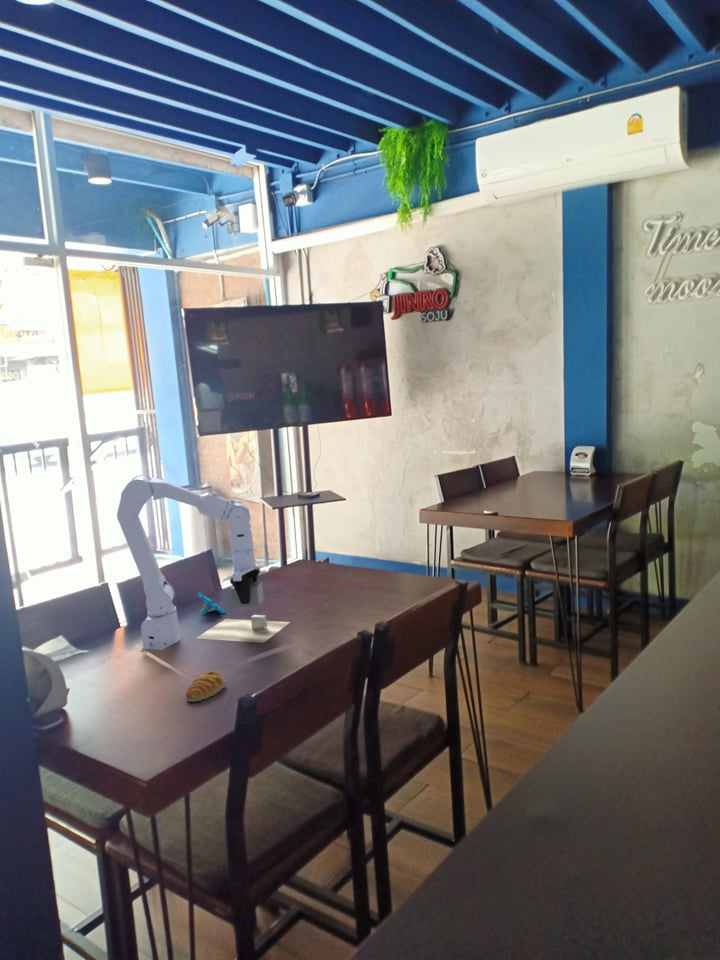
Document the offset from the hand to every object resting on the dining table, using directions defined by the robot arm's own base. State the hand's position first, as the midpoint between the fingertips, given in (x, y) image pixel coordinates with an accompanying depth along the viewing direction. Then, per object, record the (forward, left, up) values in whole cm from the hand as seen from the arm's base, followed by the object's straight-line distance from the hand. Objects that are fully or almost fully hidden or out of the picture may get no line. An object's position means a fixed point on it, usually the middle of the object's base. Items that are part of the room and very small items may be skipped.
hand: (248, 600), depth 193 cm
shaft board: (-1, +2, -9) cm, 9 cm away
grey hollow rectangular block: (0, 0, -1) cm, 1 cm away
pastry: (-35, -8, -10) cm, 37 cm away
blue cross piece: (+12, +19, -9) cm, 24 cm away
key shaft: (+1, -2, -9) cm, 9 cm away
